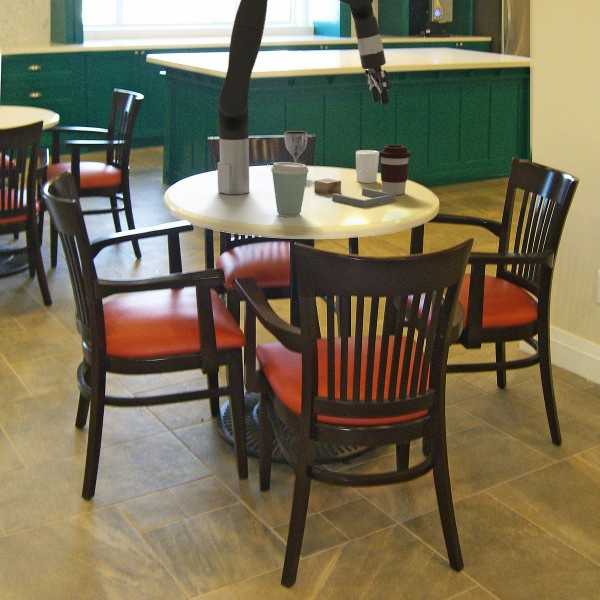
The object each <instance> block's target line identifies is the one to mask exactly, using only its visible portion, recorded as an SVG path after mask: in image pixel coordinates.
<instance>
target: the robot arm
mask: <svg viewBox="0 0 600 600" xmlns="http://www.w3.org/2000/svg"><path fill="white" fill-rule="evenodd" d="M339 1H340V2H342V3H344V4H347V5H348V6H349V9H350V12H351V16H352V19H353V22H354V28H355V34H356V39H357V50H358V54H359V59H360V63H361V68H362V69H363V70H364V75H365V79H366V86H367V89H369V91H370V92H371V98H372V103H378V102H380V101H381V105H383V106H385V105H389V103H390V100H389V95H388V91H390V83H389V80H388V75H387V71H386V70H385V69H384V70H383V69H382V66H384V65H386V64H387V63H386V62H387V61H386V56H385V52H384V46H383V41H382V37H381V34H380V30H379V29H380V28H379V24H378V20H377V18H376V16H375V13H374V9H373V2H374V0H339ZM267 8H268V0H240V2H239V4H238V7H237V10H236V14H235V17H234V22H233V26H232V31H231V36H230V41H229V42H230V43H229V50H228V63H227V71H226V75H225V79H224V81H223V85H222V89H221V91H220V93H219V95H218V99H217V102H218V103H217V104H218V118H219V119H218V135H219V139H218V141H219V161H218V162H217V163H216V165H217V192H218V193H222V194H225V195H229V196H231V195H241V194H242V195H243V194H248V193H249V192H250V149H249V147H250V145H249V144H250V140H249V138H250V137H249V133H250V132H249V92H250V83H251V77H252V73H253V69H254V66H255V65H256V64H255V63H256V60H257V58H258V55H259V51H260V49H261V43H262V39H263V36H264V35H263V34H264V30H265V29H264V28H265V23H266V19H267V11H268V10H267Z"/></svg>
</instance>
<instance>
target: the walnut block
mask: <svg viewBox="0 0 600 600" xmlns="http://www.w3.org/2000/svg"><path fill="white" fill-rule="evenodd" d="M313 190H314V193H316V194H320V195H324V196H330V195H331V196H332V194H334V193H335V194H341V193H342V181H341V180H338V179H333V178H329V177H328V178H322V179H321V178H320V179H315V180H314V189H313Z"/></svg>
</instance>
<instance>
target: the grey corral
mask: <svg viewBox="0 0 600 600" xmlns="http://www.w3.org/2000/svg"><path fill="white" fill-rule="evenodd" d="M361 195H364V196H368V197H371V198H367V199H366V198H365V199H361V198H357V197H353V196H350V195H349V196H348V195H344V194H341V193H337V194H335V193H334V194H331V196H332V197H331V200H332V201H334V202H338V203H343V204H347V205H351V206H356V207H360V208H367V207H368V208H369V207H372V206H378V205H381V203H383V204H386V202H388V203H391V202H390V201H393V202H396V201H395V200H397V198H396V197H397V195H396V194H391V193H386V192H382V190H378V189H377V190H376V189H371V188H367V187H363V188H362V189H361ZM377 204H378V205H377Z"/></svg>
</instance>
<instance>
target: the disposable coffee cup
mask: <svg viewBox="0 0 600 600" xmlns="http://www.w3.org/2000/svg"><path fill="white" fill-rule="evenodd" d="M272 164H273V165H272V166H271V169H270V171H271V173H272V181H273V187H274V188H273V189H274V195H275V196H274V197H275V198H274V199H275V203H276V213H277V215H278V216H280V217H283V218H295V217H299V216H301V213H302V207H303V202H304V196H305V189H306V184H307V179H308V173H309V168H308V166H307V165H306V164H304V163H300V162H299V163H298V162H297V163H294V162H288V161H287V162H286V161H284V162H279V161H278V162H273V163H272Z"/></svg>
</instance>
